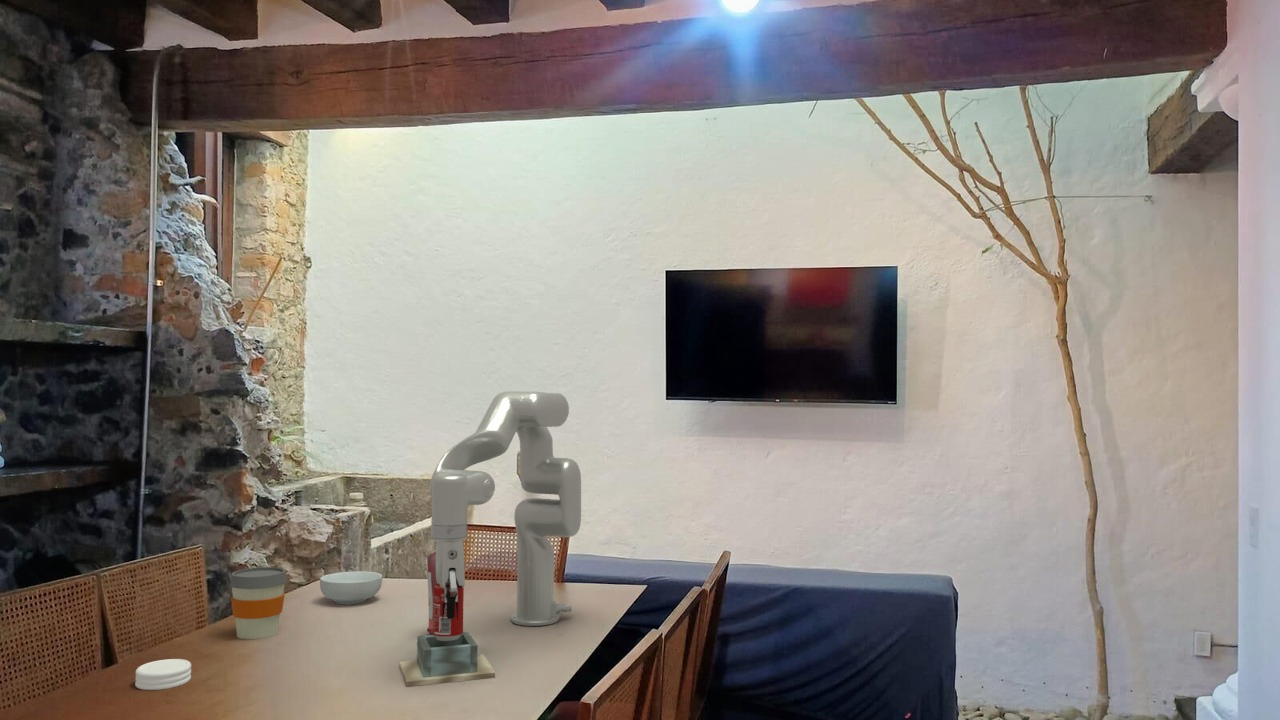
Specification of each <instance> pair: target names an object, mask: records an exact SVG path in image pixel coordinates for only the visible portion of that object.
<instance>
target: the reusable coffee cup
mask: <svg viewBox="0 0 1280 720" xmlns="http://www.w3.org/2000/svg"><path fill="white" fill-rule="evenodd" d="M286 574H287V573H286V569H285V568H282V567H276V566H275V567H274V566H273V567H271V566H264V567H262V566H261V567H250V568H244V569H239V570H238V569H237V570H236V571H233V572H232V573H231V578H230V587H231V590H232V591H231V592H232V596H231V597H230V599H231V600H230V601H231V609H232V610H231V611H232V616H233V617H234V618H235V619H234V620H235V628H236V637H237V638H238V639H242V640H258V639H266V638H269V637H272V636H276V635H277V634H278V627H279V622H280V616H281V615H280V614H282V613H283V607H284V601H285V594H286V593H285V591H284V590H285V584H286V583H287V576H286Z"/></svg>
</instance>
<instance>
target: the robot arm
mask: <svg viewBox="0 0 1280 720" xmlns="http://www.w3.org/2000/svg"><path fill="white" fill-rule="evenodd" d="M569 413H570V407H569V403H568V399H567V398H566V397H565V395H563V394H561V393H559V392H555V393H553V392H542V391H514V390H513V391H511V390H510V391H503V392H499V393H498V394H496V396H495V397H494V398H493V399H492V400H491V403H490V404H489V406H488V408H487V410H486V412H485V414H484V416H483V418H482V419H481V421H480V423H479V425H478V427H477V429H476V431H474V433H472V434H471V435H469V436H467V437H466V438H464V439H463V440H461V441H459V442H457V444H454V445H453V446H451V448H449V449H448V450H446V452H445V453H444V454H443V456H442V457H441V458H440V460H439V462H438V464H437V466H436V467H435V468H434V471H433V473H432V476H431V479H430V482H429V492H430V495H431V524H430V525H431V527H430V528H431V529H430V534H431V535H430V536H431V537H430V540H431V541H433V542H436V545H435V552H436V580H437V581H438V582H439V584H440V587H442V588H443V589H444V603H443V605H442V621H443V617H444V610H445V603H447V618H448V619H452V618H454V616H455V603H456V610H457V620H458V591H457V583H458V585H459V586H460V587H461V588H463V587H464V588H465V586H466V585H465V582H466V581H465V579H466V578H465V577H466V576H465V550H464V541H465V540H467V539H468V506H470V505H471V506H479V505H485V504H486V503H487V502H489V501H490V500H491V499H492V498H493V496H494V493H495V491H496V485H495V481H494V478H493V477H492V475H490V474H489V473H487V472H486V471H481V470H467V469H468V468H470V467H472V466H474V465H477V464H480V463H482V462H486V461H489V460H493V459H495V458H497V457H499V456H502V455H503V454H505V453H506V452H507V451H508V449H509V448H510V445H511V443H512V440H513V439H514V437H515V435H516V433H517V436H518V438H519V449H520V450H519V451H520V453H519V455H520V456H519V457H520V459H519V460H520V461H519V462H520V464H519V465H520V467H519V469H520V472H519V473H520V474H519V475H520V476H519V477H520V485H521V488H522V489H523V491H525V492H527V493H531V494H539V495H541V494H542V495H555V496H556V495H557V496H558V498H559V499H552V498H540V497H539V498H538V497H535V498H534V497H532V498H526V499H523V500H521V501H520V502H519V503H518V504H517V505H516V506H515V508H514V509H515V510H514V516H513V517H514V526H515V530H516V538H517V539H516V540H517V570H516V571H517V572H516V573H517V574H516V575H517V576H516V582H517V583H516V612H514V613H513V614H511V615H510V622H512V623H513V624H515V625H519V626H525V627H538V626H539V627H542V626H548V625H552V624H555V623H558V621H559V620H560V613H561V612H564V613H567V612H569V613H570V612H572V604H571V603H563V602H561V603H557V602H555V600H554V597H555V596H554V594H555V593H554V591H555V589H554V588H555V583H554V581H555V552H554V550H555V549H554V548H553V547H554V546H553V545H552V543H551V542H550V539H549V538H548V537H558V538H571V537H574V536H576V535H577V534H578V532H579V530H580V527H581V524H582V523H581V522H582V475H581V469H580V466H579V464H578V462H577V461H575V460H574V459H572V458H568V457H555V456H554V453H553V452H554V449H553V447H554V446H553V444H554V443H553V436H552V434H551V431H550V430H549V428H552V427H554V428H555V427H556V428H557V427H560V426H562V425H564V424H565V422H566V421H567V420H568V417H569ZM457 581H458V582H457ZM446 585H450V587H446ZM447 590H449V591H450V592H448V593H447Z"/></svg>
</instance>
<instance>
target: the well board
mask: <svg viewBox="0 0 1280 720" xmlns="http://www.w3.org/2000/svg"><path fill="white" fill-rule="evenodd" d="M416 643H417V644H416V645H417V647H416V648H417V650H416V659H412V660H404V661H399V669H400V671H401V674H402V678H403V680H404V684H405V687H407V688H409V687H416V686H427V685H428V686H429V685H437V684H446V683H447V684H448V683H455V682H463V681H472V680H473V681H474V680H482V679H483V680H485V679H491V678H496V671H495V670H494V669H493V667H492V665H491V664H490V662H489V661H488V659H487V658H486V656H485V655H484V653H478V651H479V650H478V649H479V648H478V644H477V642H476V640H475V639H474V638H473V637H472V635H471V633H470V632H469V631H465V632H464V631H463V634H462V635H461V636H460V637H459V639H456V640H452V641H440V640H437V639H436V637H435V636H434V635H431V634H429V635H428V634H427V635H420V636H417V642H416Z"/></svg>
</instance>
